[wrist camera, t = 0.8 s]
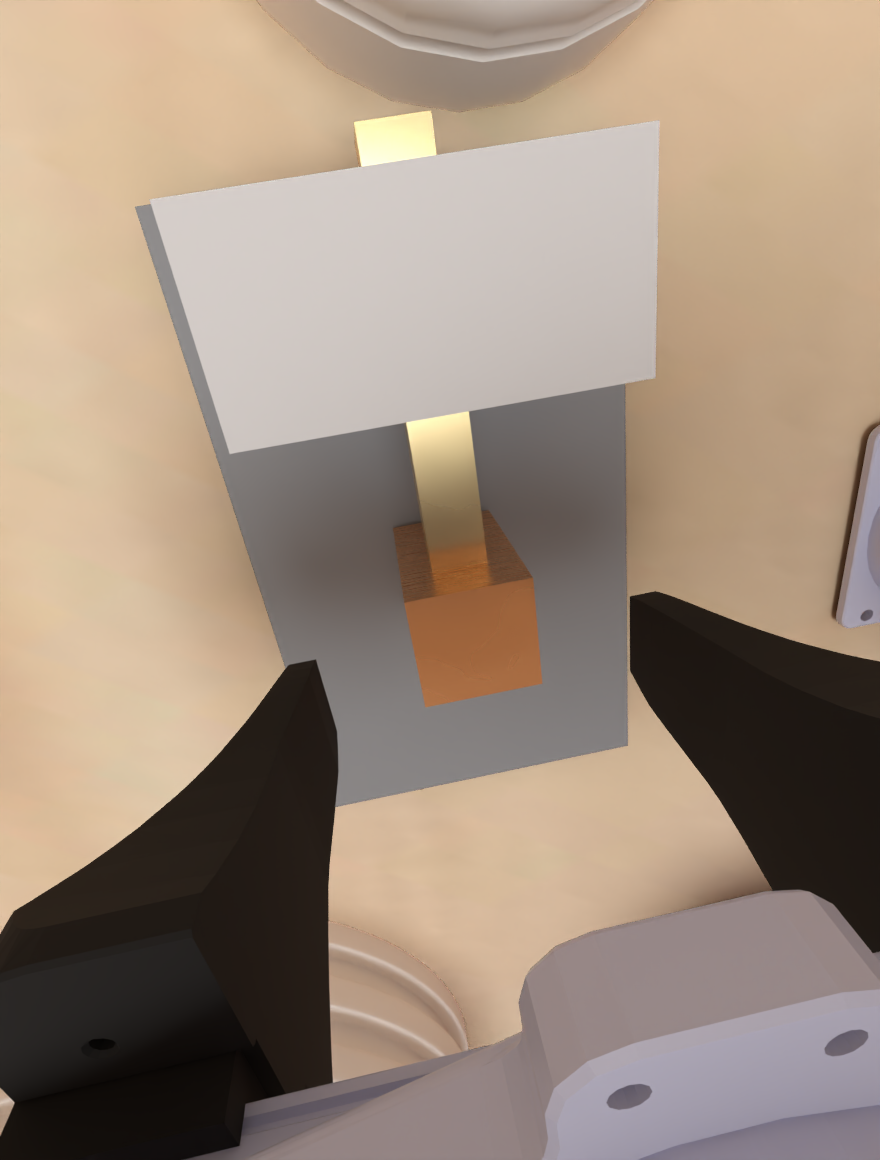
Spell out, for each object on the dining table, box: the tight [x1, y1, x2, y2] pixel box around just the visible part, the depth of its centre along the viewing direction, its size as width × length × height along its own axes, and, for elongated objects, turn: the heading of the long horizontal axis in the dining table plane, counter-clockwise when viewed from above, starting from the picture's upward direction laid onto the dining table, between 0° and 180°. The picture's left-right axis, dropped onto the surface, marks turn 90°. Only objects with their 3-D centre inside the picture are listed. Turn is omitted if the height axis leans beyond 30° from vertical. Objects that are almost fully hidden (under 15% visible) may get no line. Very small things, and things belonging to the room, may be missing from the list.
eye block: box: [135, 120, 659, 807], centre depth 16 cm, size 12×20×7 cm, turn 9°
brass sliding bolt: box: [354, 110, 542, 708], centre depth 14 cm, size 3×12×5 cm, turn 9°
